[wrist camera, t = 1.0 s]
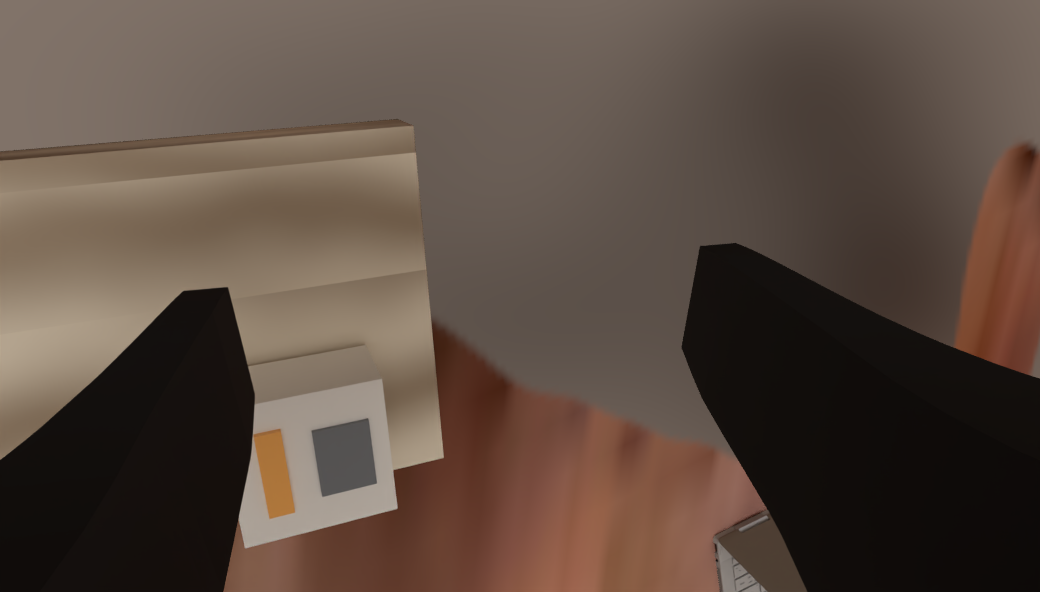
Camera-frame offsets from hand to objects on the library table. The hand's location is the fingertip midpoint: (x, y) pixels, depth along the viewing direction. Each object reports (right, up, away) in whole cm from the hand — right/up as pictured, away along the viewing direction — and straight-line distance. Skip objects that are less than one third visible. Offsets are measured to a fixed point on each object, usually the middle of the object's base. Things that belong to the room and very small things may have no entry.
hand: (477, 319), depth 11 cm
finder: (-7, -4, +15) cm, 17 cm away
